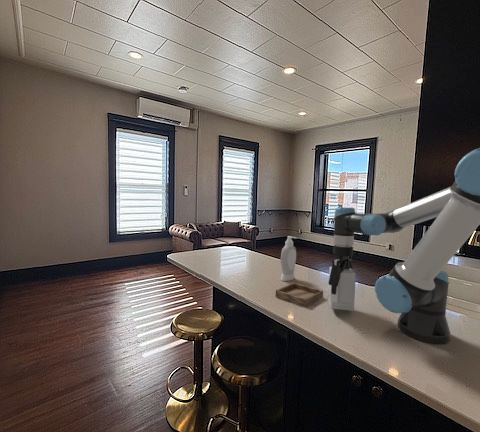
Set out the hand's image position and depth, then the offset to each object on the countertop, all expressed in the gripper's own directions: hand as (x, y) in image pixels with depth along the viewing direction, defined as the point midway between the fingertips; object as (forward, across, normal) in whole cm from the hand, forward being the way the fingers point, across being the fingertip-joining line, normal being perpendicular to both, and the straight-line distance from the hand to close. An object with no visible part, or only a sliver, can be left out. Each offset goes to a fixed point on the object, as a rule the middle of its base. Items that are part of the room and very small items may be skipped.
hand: (340, 297), depth 108 cm
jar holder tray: (+5, 0, -19) cm, 20 cm away
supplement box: (+4, 0, 0) cm, 4 cm away
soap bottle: (+5, -18, -36) cm, 41 cm away
